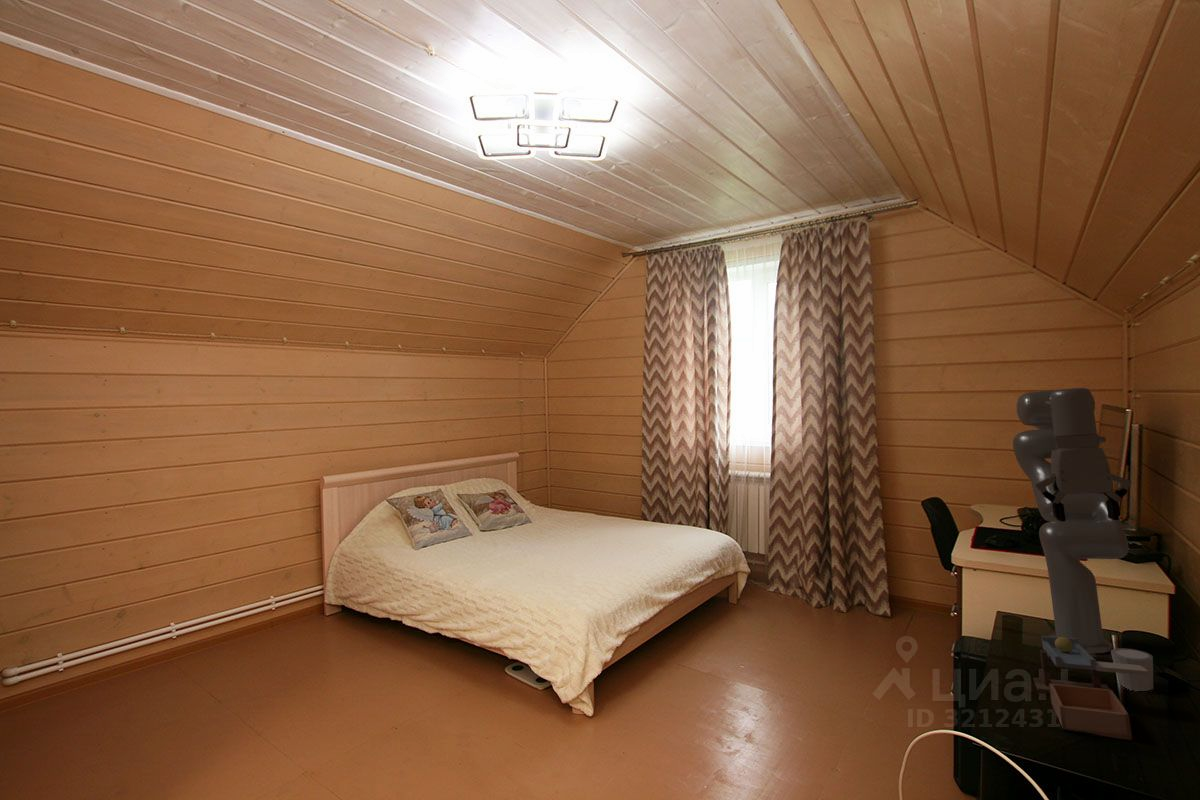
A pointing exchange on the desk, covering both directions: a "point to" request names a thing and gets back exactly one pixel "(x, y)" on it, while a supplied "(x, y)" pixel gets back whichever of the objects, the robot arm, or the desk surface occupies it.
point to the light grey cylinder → (1134, 658)
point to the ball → (1063, 644)
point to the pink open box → (1090, 711)
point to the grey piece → (1085, 659)
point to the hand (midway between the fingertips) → (1087, 520)
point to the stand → (1043, 684)
